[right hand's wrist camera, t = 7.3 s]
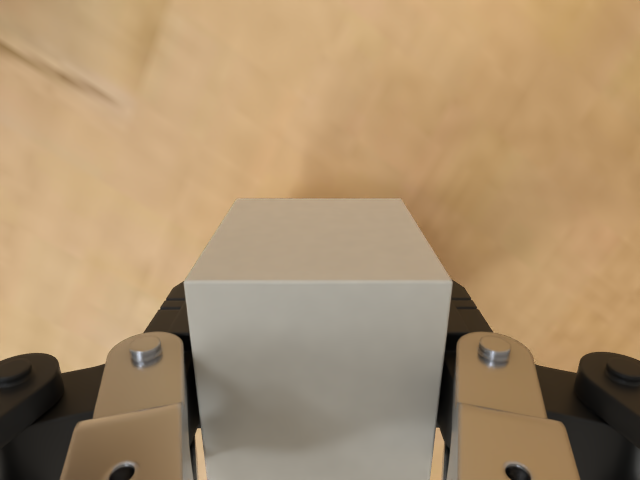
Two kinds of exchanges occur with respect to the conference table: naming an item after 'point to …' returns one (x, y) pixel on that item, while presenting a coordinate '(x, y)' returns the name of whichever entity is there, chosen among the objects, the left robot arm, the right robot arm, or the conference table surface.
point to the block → (318, 341)
